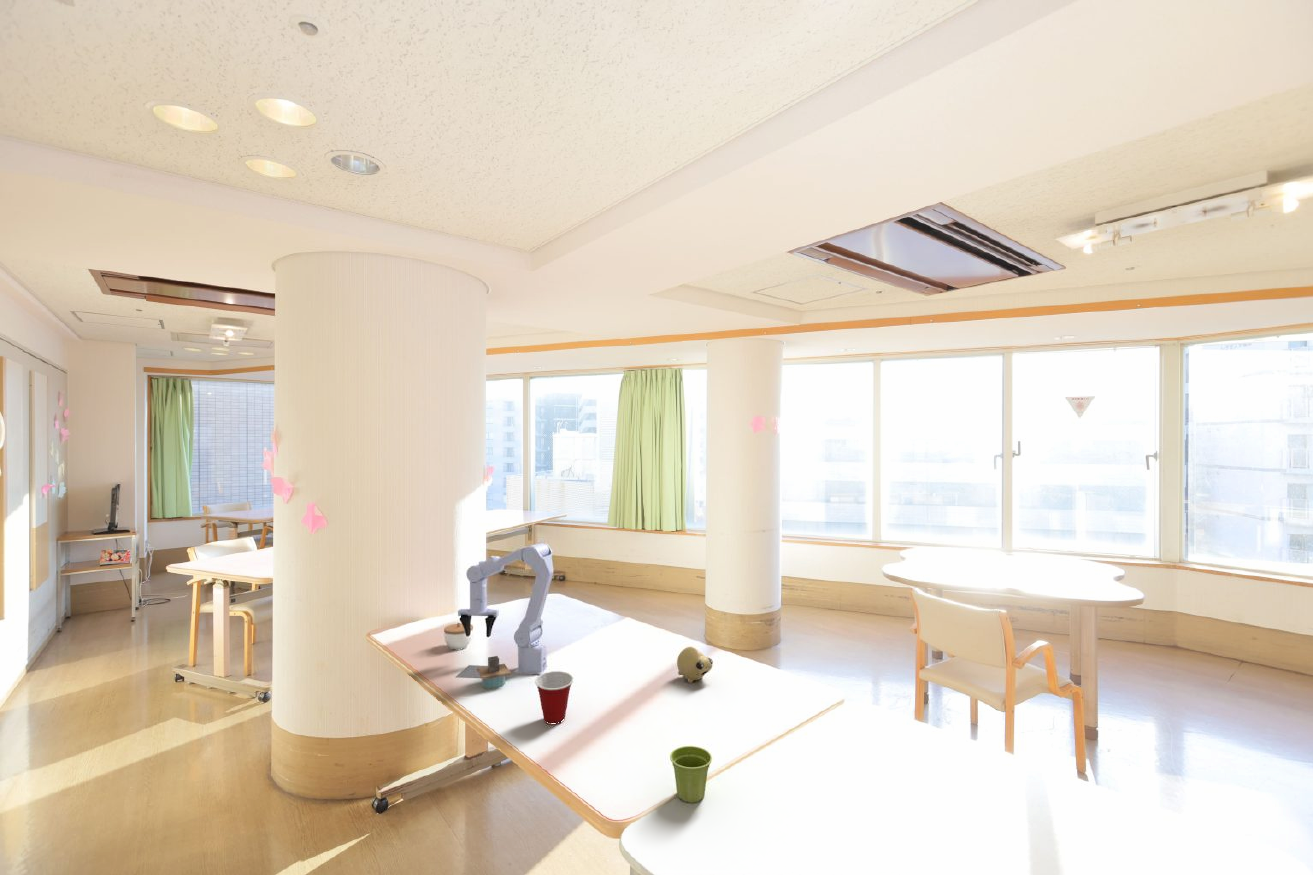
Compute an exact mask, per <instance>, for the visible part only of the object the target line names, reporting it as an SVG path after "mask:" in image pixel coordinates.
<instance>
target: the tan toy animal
mask: <svg viewBox="0 0 1313 875" xmlns="http://www.w3.org/2000/svg"><path fill="white" fill-rule="evenodd" d="M678 654H679V655H678V657H677V659H676V665H677V670H678V673H677V674H678V676H683V678H685V679H687V682H688V683H689V682H691V683H693V681H698V680H702V679H703V678H704V676H705V675H706V674H707V673H709V672H710V671H711V670H712V668H713V664H714V663H713V662H714V661H713V659H712V658H711V657H708V656H705V655H704V654H703V653H702V652H701V651H700V650H698V649H697V648H696V647H693V646H686V647H685V648H683V649H682V650H681V651H680V653H678ZM701 678H702V679H701Z"/></svg>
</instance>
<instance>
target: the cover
mask: <svg viewBox="0 0 1313 875" xmlns="http://www.w3.org/2000/svg"><path fill="white" fill-rule="evenodd" d="M486 666H487V667H481V668H477V671H478V673H479V675H480V676H481V678H480V679H481V681H482V680H483V679H488V678H494V677H499V676H505V677H506V676H510V675H511V671H510V669H509V667H507V665H506V663H501V664H500V658H499V656H498V655H495V656H488V657H487V665H486Z"/></svg>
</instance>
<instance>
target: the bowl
mask: <svg viewBox="0 0 1313 875" xmlns="http://www.w3.org/2000/svg"><path fill="white" fill-rule="evenodd" d="M481 681H482V682H481V684H482V688H483V689H486V690H494V689H495V690H496V689H499V688H502V687H504V686H505V684H506V675H505V676H499V677H494V678H488V679H483V680H482V679H481Z"/></svg>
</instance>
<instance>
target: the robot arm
mask: <svg viewBox="0 0 1313 875" xmlns="http://www.w3.org/2000/svg"><path fill="white" fill-rule="evenodd" d="M553 553H554V551H553V550H552V548H551V547H550V545H549V544H548V543H546V542H542V541H540V542H538V543H536V544H535V543H534V544H531V545H527V546H524V547H521V548H518V549H516V550H513V551H511V552H510V553H508V554H506V555H503V556H498V555H495V556H494V555H491V556H489V557H488V558H487V559H486V560H481V561H479V562H478V564H475V565H471V566H470V567H468V568H467V570H466V578H467V580H468V581H469V608H460V609H459V610H457V616H458V617H459V621H460V623H462V625H463V627H464V630H465V633H466V637H468V636H469V635H470V634H471V625H472V624H471V622H472V618H473V617H485V618H484V620H485V628H486V635H485V636H486V638H489V637H491V636H492V630H493V627H494V623H495V622H496V620H497V617H498V616H499V615H500V611H499V609H491V608H487V598H488V597H487V583H488V578H489V577H491V576H493V575H497V574H499V573H500V572H503V571H504V568H505V566H507V565H509V564H512V563H515V562H517V561H520V562H522V563H523V562H524V563H525V564H526V565H527V566H528V567H529V568H530V569H532V570H533V571H534V573H535V574H536V576H535V580H534V584H533V586H532V590H531V594H530V597H529V601H528V605H527V609H526V612H525V616H524V617H523V619H522V620H521V621H520V623H519V626H518V628H517V629H516V630H515V632H514V634H513V639H514V642H515V644H516V645H517V665H518V666H517V668H516V669H515V670H514V671H513V673H514V674H521V675H522V674H526V675H541V674H543V672H544V670H546V668H547V667H548V664H547V662H548V661H547V660H548V659H547V645H546V644H541V643H540V638H541V637H542V636H543V622H544V621H543V620H542V619H541V618H542V614H543V612H544V608H545V604H546V600H547V598H548V593H549V590H550V586H551V583H552V579H553V575H554V570H555V569H554V563H553V555H554V554H553Z"/></svg>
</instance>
